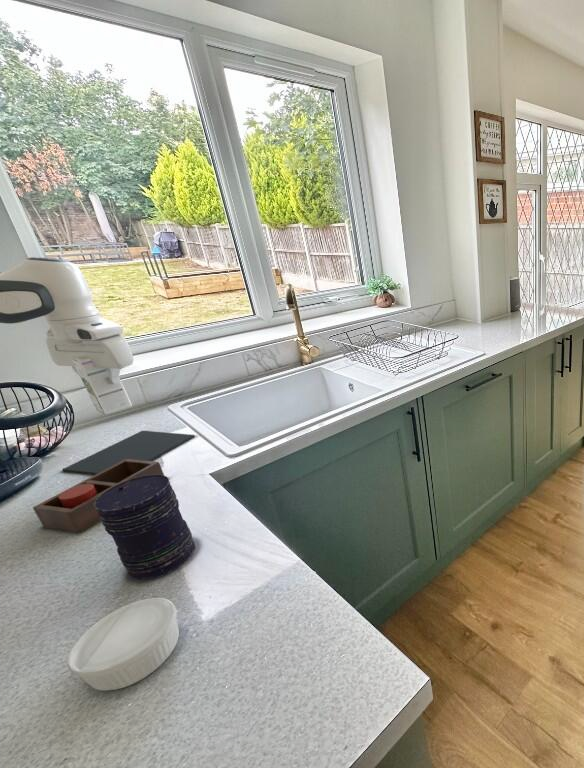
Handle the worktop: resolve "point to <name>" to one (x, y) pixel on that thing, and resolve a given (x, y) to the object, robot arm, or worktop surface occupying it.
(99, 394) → the syrup box
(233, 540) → the worktop surface
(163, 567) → the dark blue cylinder
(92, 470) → the mat
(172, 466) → the worktop surface
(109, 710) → the worktop surface
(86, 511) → the caddy
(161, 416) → the worktop surface
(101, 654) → the ramekin
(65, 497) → the spice tin
